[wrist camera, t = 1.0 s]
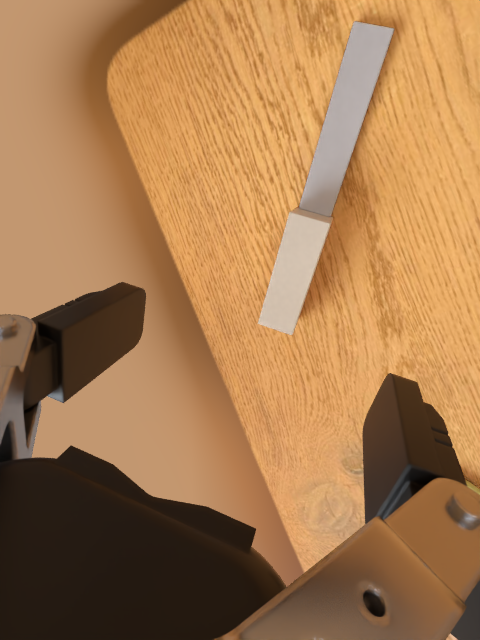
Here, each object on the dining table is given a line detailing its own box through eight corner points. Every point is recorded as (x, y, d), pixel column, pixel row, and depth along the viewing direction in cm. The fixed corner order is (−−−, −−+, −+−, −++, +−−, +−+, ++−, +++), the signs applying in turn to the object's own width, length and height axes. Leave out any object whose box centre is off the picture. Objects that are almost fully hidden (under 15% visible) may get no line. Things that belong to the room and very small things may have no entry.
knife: (298, 319, 27) (292, 336, 24) (266, 309, 27) (257, 324, 24) (397, 32, 18) (404, 9, 16) (350, 23, 19) (349, 0, 16)
